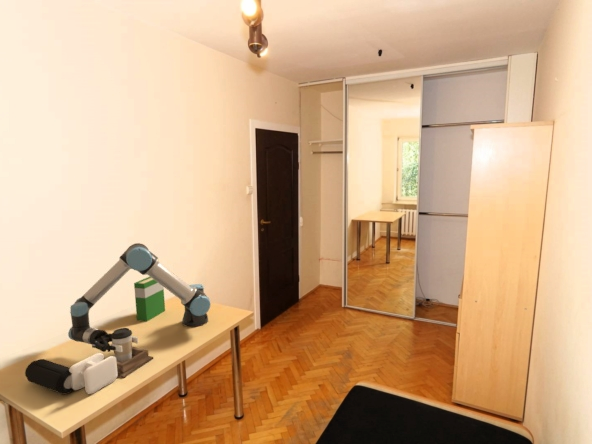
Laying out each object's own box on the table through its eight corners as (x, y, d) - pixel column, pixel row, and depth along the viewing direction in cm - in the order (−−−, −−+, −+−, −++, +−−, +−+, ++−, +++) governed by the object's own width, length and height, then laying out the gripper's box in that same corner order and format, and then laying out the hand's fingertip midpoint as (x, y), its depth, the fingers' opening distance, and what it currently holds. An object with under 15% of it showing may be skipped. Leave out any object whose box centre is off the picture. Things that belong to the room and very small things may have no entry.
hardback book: (155, 309, 244) (153, 275, 241) (165, 310, 242) (162, 275, 239) (137, 320, 228) (134, 283, 224) (147, 321, 225) (144, 284, 222)
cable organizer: (86, 398, 149) (83, 372, 148) (70, 392, 154) (67, 366, 153) (118, 379, 163) (116, 355, 161) (102, 374, 167) (100, 350, 166)
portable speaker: (84, 387, 158) (82, 365, 156) (61, 400, 149) (59, 377, 147) (47, 374, 168) (45, 354, 167) (24, 386, 159) (21, 364, 158)
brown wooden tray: (97, 370, 170) (96, 360, 169) (128, 352, 187) (127, 343, 186) (123, 378, 164) (122, 367, 163) (153, 358, 180) (152, 349, 180)
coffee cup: (114, 357, 178) (111, 328, 176) (134, 353, 181) (131, 324, 179) (112, 366, 169) (109, 335, 167) (134, 362, 173) (131, 332, 171)
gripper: (114, 335, 191) (147, 342, 183) (76, 354, 172) (111, 363, 163) (112, 321, 190) (146, 327, 181) (74, 339, 171) (109, 347, 162)
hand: (129, 344), depth 172 cm, fingers closed on coffee cup, 9 cm apart
